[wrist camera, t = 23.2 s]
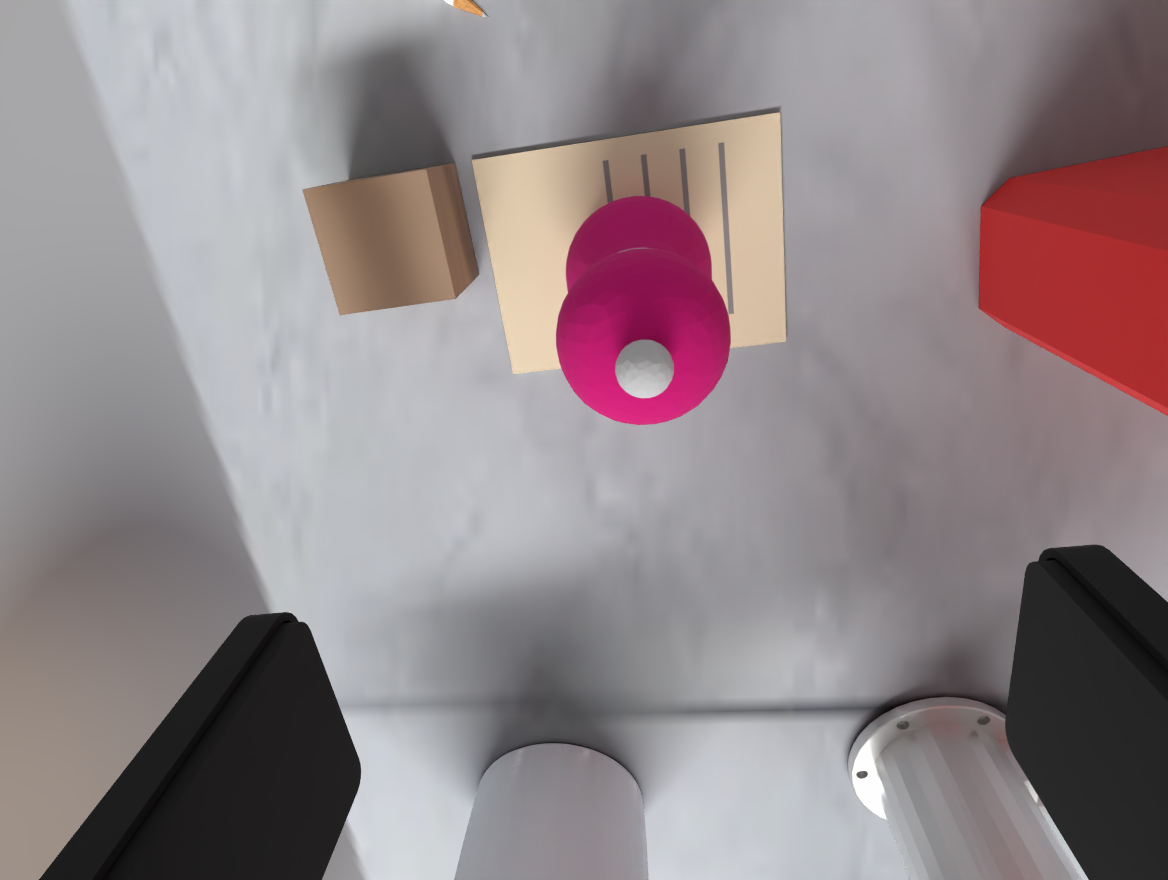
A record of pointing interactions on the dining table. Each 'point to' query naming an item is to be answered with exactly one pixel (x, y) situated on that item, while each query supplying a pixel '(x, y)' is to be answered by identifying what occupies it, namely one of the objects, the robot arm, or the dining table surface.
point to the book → (1085, 267)
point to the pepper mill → (641, 313)
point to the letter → (638, 168)
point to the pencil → (467, 6)
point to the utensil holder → (555, 819)
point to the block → (394, 238)
